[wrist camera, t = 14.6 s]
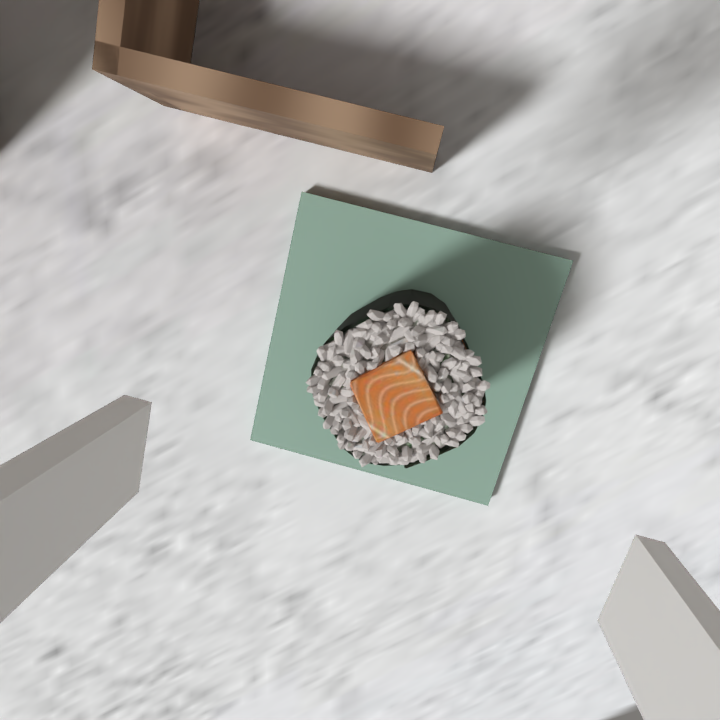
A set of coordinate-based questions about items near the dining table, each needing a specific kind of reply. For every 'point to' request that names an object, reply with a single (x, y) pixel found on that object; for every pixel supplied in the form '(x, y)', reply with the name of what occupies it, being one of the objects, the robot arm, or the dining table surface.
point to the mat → (385, 276)
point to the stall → (242, 87)
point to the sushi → (399, 381)
